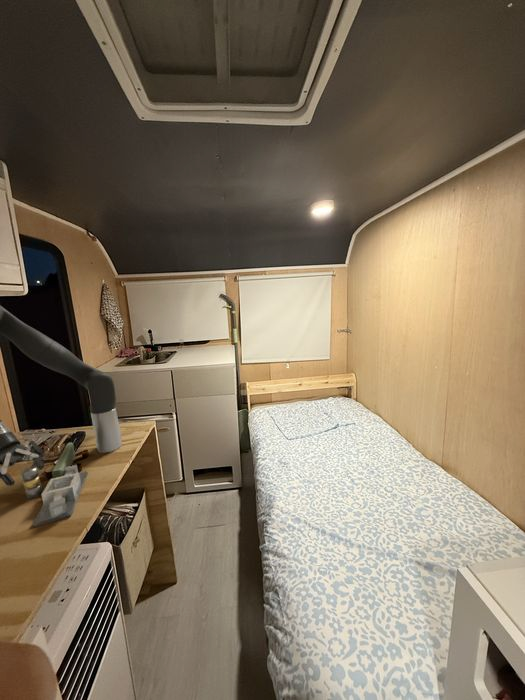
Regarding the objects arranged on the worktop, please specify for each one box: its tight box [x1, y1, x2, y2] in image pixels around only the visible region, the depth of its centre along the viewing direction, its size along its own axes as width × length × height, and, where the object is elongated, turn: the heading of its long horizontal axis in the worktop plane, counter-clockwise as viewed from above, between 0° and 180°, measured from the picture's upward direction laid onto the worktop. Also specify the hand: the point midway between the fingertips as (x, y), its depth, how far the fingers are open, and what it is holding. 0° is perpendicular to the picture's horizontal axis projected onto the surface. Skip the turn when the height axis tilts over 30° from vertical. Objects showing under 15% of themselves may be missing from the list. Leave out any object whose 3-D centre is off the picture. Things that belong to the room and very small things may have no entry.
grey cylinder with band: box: [20, 465, 44, 500], centre depth 91 cm, size 4×4×9 cm
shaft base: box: [32, 464, 89, 528], centre depth 89 cm, size 22×9×5 cm, turn 21°
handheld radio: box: [51, 442, 78, 479], centre depth 106 cm, size 7×3×25 cm
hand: (28, 475), depth 91 cm, fingers open, 8 cm apart
